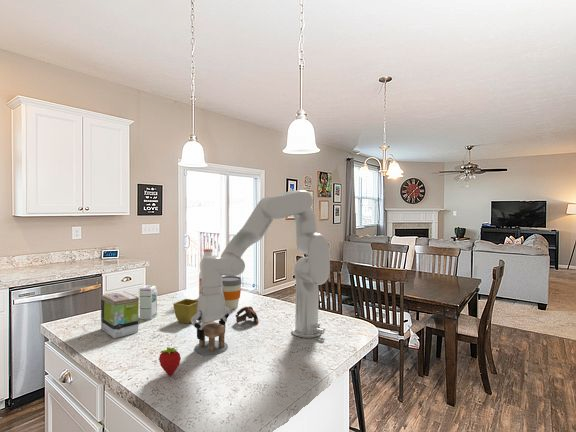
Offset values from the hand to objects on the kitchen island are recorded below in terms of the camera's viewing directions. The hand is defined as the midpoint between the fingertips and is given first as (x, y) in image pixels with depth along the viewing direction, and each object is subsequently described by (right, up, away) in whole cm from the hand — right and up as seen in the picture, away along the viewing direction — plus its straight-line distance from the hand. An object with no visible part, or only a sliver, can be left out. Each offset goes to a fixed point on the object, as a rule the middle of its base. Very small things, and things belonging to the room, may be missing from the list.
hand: (211, 335), depth 124 cm
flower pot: (-17, -4, +28) cm, 33 cm away
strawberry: (-8, -5, -20) cm, 23 cm away
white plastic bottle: (-17, -3, +65) cm, 68 cm away
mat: (0, -5, 0) cm, 5 cm away
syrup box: (-37, -3, +32) cm, 49 cm away
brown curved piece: (+10, -4, +28) cm, 30 cm away
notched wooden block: (0, -4, 0) cm, 4 cm away
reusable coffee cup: (-2, -3, +50) cm, 50 cm away
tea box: (-42, -4, +16) cm, 45 cm away
